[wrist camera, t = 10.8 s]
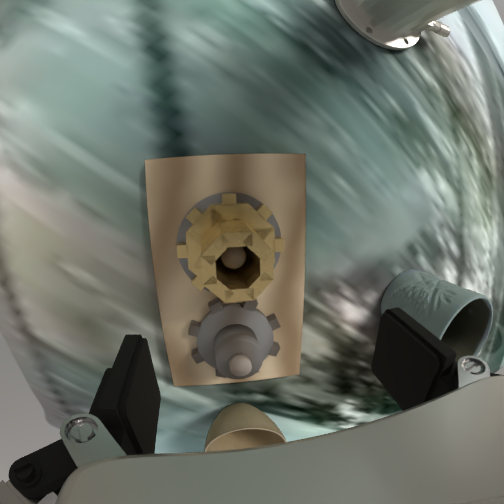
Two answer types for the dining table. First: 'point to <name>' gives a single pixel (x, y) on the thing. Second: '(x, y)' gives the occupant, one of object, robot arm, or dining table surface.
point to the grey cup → (442, 310)
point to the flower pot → (242, 429)
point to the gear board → (187, 297)
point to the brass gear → (231, 235)
